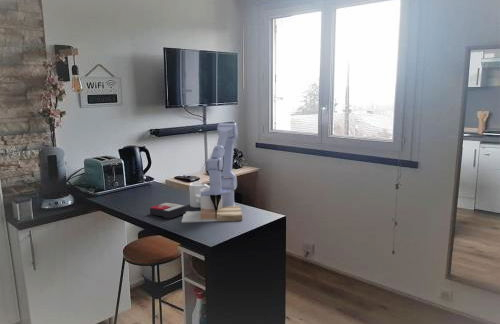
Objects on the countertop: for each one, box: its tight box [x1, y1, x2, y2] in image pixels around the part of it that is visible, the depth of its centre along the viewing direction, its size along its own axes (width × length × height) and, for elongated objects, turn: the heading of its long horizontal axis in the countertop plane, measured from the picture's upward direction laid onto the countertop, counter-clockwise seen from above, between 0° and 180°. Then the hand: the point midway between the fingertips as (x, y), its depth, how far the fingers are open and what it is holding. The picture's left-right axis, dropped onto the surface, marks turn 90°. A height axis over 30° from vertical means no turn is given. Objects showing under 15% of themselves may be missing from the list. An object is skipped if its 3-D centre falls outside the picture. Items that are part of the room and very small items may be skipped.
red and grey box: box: [149, 202, 187, 220], centre depth 200 cm, size 11×4×15 cm
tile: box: [200, 207, 216, 219], centre depth 195 cm, size 10×7×2 cm
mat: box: [181, 210, 218, 224], centre depth 195 cm, size 16×16×1 cm
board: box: [216, 205, 243, 222], centre depth 196 cm, size 16×12×2 cm
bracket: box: [189, 181, 222, 214], centre depth 208 cm, size 25×10×12 cm, turn 31°
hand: (216, 209), depth 195 cm, fingers closed
